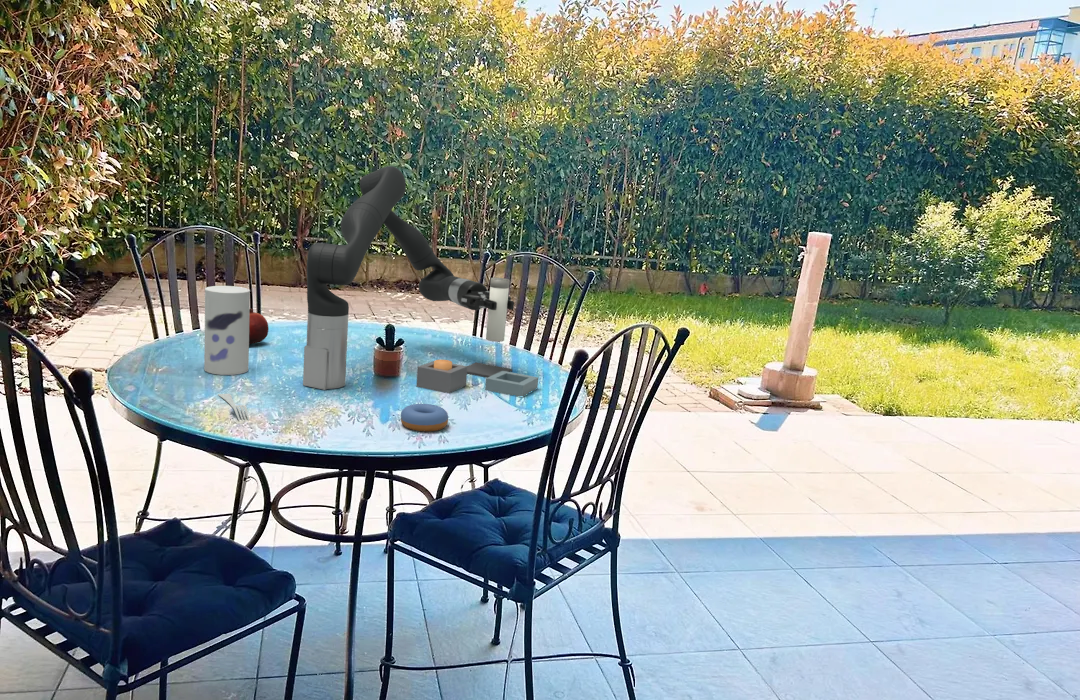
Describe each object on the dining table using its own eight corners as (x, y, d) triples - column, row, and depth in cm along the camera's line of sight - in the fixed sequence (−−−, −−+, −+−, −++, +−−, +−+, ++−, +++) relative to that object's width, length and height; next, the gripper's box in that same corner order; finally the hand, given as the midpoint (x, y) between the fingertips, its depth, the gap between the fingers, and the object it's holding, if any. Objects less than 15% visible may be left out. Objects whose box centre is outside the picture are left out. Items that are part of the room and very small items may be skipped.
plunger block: (449, 393, 201) (450, 373, 200) (416, 386, 204) (417, 366, 203) (466, 385, 209) (467, 366, 208) (434, 379, 212) (435, 360, 211)
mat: (495, 379, 218) (495, 376, 218) (457, 371, 222) (457, 369, 222) (512, 371, 228) (512, 369, 228) (475, 364, 232) (475, 362, 232)
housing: (522, 397, 203) (523, 385, 203) (484, 390, 207) (485, 378, 206) (537, 388, 212) (538, 377, 212) (501, 381, 216) (502, 370, 215)
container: (205, 375, 196) (206, 291, 192) (203, 365, 205) (203, 284, 201) (250, 375, 200) (251, 292, 196) (246, 364, 209) (247, 285, 205)
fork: (229, 405, 185) (229, 392, 185) (252, 423, 168) (252, 409, 167) (216, 405, 184) (216, 393, 183) (237, 424, 166) (237, 410, 166)
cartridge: (499, 342, 216) (505, 281, 213) (482, 339, 218) (487, 278, 214) (507, 339, 221) (512, 279, 217) (490, 336, 222) (495, 277, 219)
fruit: (224, 347, 225) (224, 310, 223) (229, 339, 234) (230, 304, 232) (265, 349, 227) (266, 312, 225) (269, 341, 236) (270, 306, 234)
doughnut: (389, 425, 172) (393, 404, 172) (415, 416, 182) (418, 396, 181) (430, 439, 169) (434, 418, 168) (454, 430, 178) (458, 409, 177)
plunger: (445, 387, 204) (446, 364, 202) (429, 384, 205) (430, 361, 204) (453, 384, 208) (455, 361, 206) (438, 381, 209) (439, 358, 208)
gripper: (446, 280, 223) (482, 292, 210) (490, 279, 232) (527, 291, 219) (444, 308, 224) (479, 321, 211) (488, 306, 233) (525, 319, 220)
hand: (504, 305), depth 215 cm, fingers closed on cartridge, 4 cm apart
